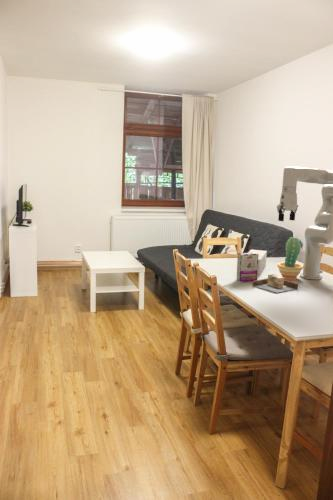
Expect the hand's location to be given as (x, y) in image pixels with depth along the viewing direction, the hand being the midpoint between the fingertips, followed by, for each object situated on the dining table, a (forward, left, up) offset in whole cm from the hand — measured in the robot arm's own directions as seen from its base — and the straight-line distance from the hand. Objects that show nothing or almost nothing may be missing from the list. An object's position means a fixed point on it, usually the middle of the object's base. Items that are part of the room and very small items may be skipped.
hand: (286, 220), depth 244 cm
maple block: (+8, +2, -36) cm, 37 cm away
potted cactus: (-15, -6, -36) cm, 40 cm away
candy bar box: (+14, -14, -36) cm, 42 cm away
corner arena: (+11, +5, -36) cm, 38 cm away
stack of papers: (-12, -31, -37) cm, 50 cm away
